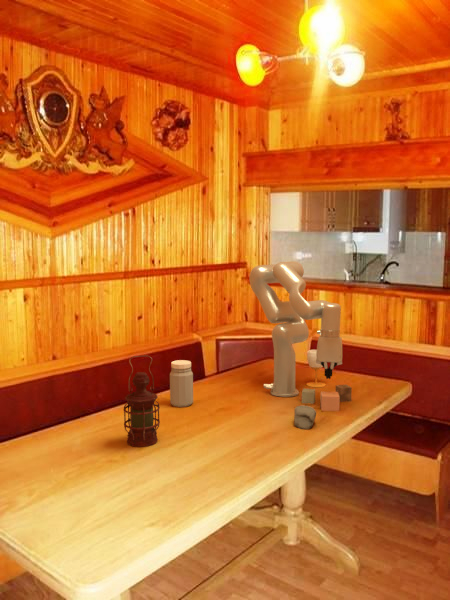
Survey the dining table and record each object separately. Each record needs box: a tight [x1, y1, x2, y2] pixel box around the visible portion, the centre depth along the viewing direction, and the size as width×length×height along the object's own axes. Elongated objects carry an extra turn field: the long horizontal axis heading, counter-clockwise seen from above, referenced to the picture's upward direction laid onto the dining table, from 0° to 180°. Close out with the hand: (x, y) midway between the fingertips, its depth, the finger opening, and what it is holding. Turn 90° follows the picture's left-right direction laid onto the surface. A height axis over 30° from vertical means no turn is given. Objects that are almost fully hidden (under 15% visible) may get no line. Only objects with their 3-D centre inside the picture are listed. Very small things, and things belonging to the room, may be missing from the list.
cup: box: [306, 349, 327, 388], centre depth 265 cm, size 9×9×16 cm
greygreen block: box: [301, 388, 316, 405], centre depth 238 cm, size 5×5×5 cm
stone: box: [293, 405, 317, 430], centre depth 210 cm, size 9×9×10 cm
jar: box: [169, 359, 194, 408], centre depth 235 cm, size 10×10×18 cm
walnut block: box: [335, 384, 352, 403], centre depth 241 cm, size 5×5×6 cm
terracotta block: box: [320, 391, 341, 412], centre depth 229 cm, size 7×7×6 cm
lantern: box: [123, 354, 161, 448], centre depth 191 cm, size 12×12×30 cm
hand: (328, 377), depth 229 cm, fingers closed
